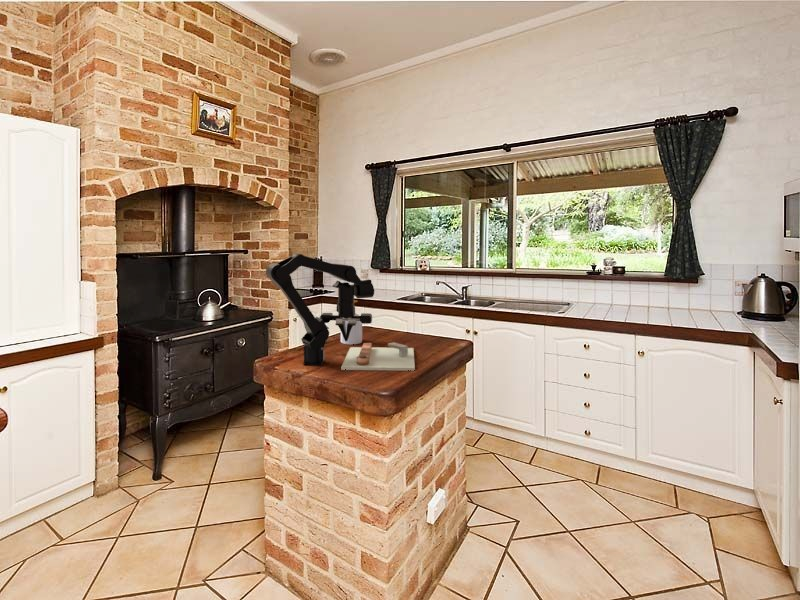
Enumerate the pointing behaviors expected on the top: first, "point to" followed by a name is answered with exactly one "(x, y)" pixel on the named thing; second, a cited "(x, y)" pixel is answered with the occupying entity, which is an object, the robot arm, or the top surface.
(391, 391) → the top surface
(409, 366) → the base board
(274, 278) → the robot arm
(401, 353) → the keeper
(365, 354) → the link
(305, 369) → the top surface
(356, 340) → the soap bottle
